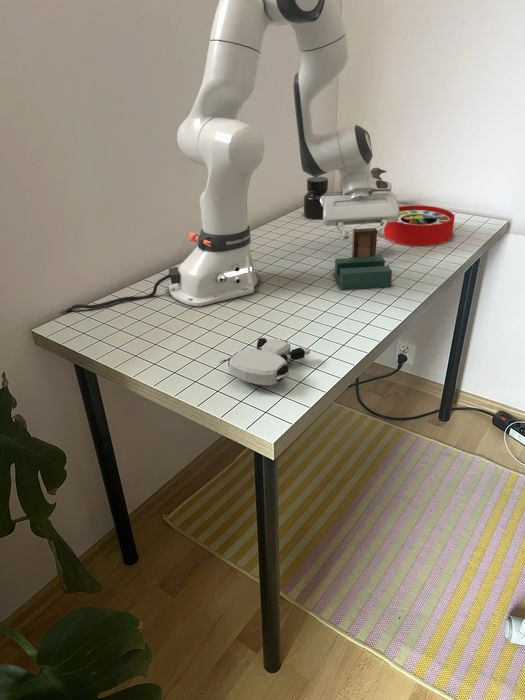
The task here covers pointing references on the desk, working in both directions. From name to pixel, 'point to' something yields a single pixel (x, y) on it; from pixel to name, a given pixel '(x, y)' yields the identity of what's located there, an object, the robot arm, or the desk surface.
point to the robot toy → (264, 361)
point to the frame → (364, 242)
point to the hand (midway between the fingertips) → (363, 237)
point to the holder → (362, 272)
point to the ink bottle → (315, 197)
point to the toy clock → (421, 226)
